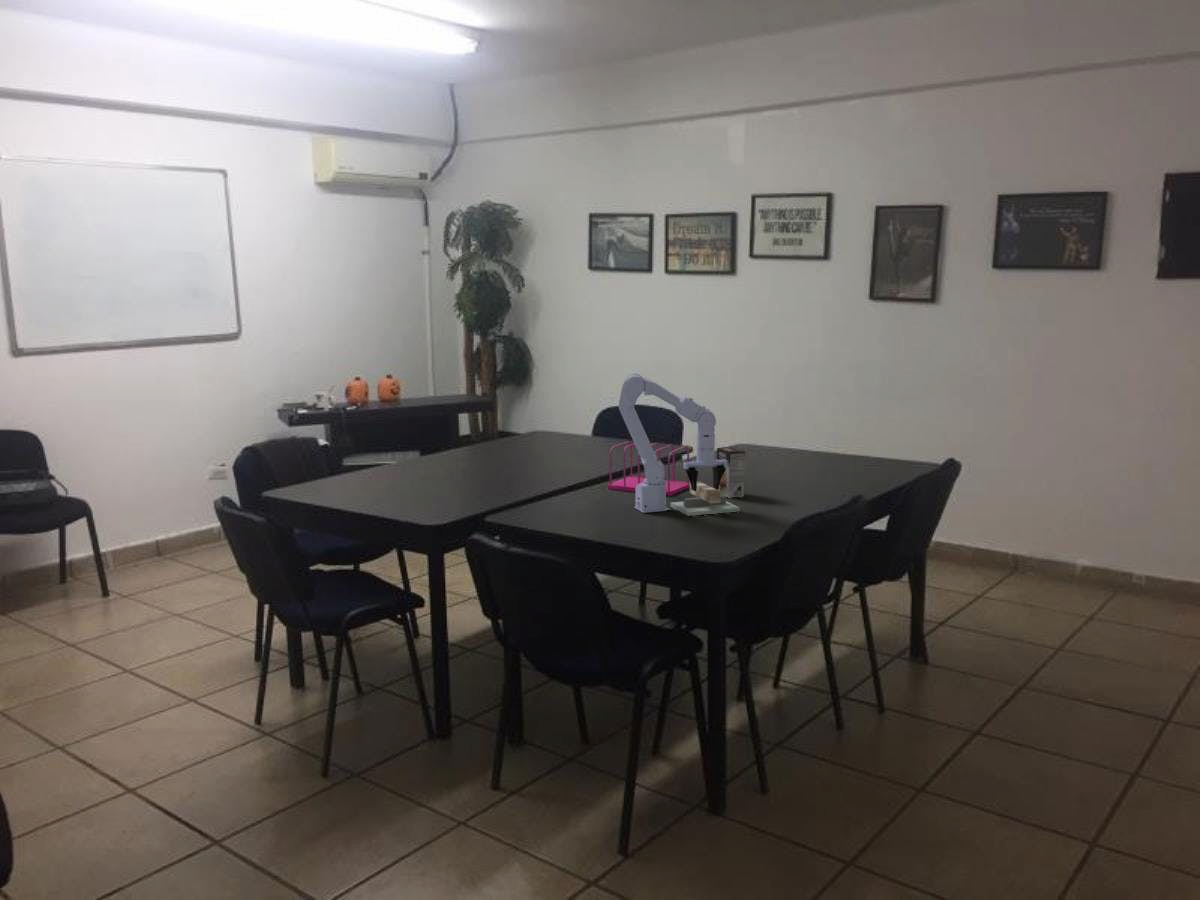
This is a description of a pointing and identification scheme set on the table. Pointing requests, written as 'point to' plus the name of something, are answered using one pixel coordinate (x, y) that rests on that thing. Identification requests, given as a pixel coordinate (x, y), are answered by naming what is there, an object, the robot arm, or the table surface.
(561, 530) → the table surface
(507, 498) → the table surface
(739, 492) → the coffee box
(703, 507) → the ridge stand
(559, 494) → the table surface
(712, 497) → the tan wooden block
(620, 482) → the file sorter
